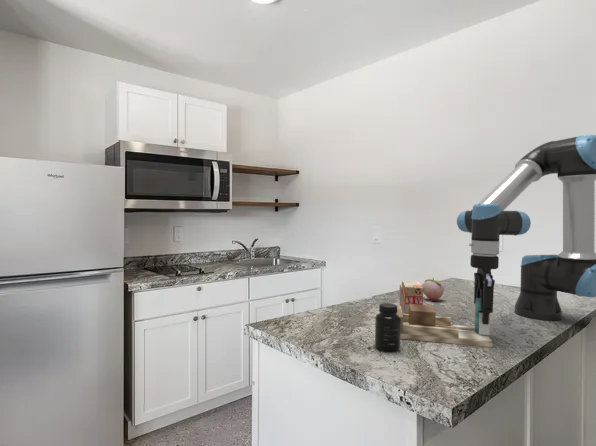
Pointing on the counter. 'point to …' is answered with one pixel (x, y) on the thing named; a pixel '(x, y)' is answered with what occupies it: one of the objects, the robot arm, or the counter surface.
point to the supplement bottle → (387, 328)
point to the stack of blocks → (410, 294)
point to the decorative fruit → (433, 289)
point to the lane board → (441, 332)
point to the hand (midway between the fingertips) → (482, 331)
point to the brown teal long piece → (426, 316)
